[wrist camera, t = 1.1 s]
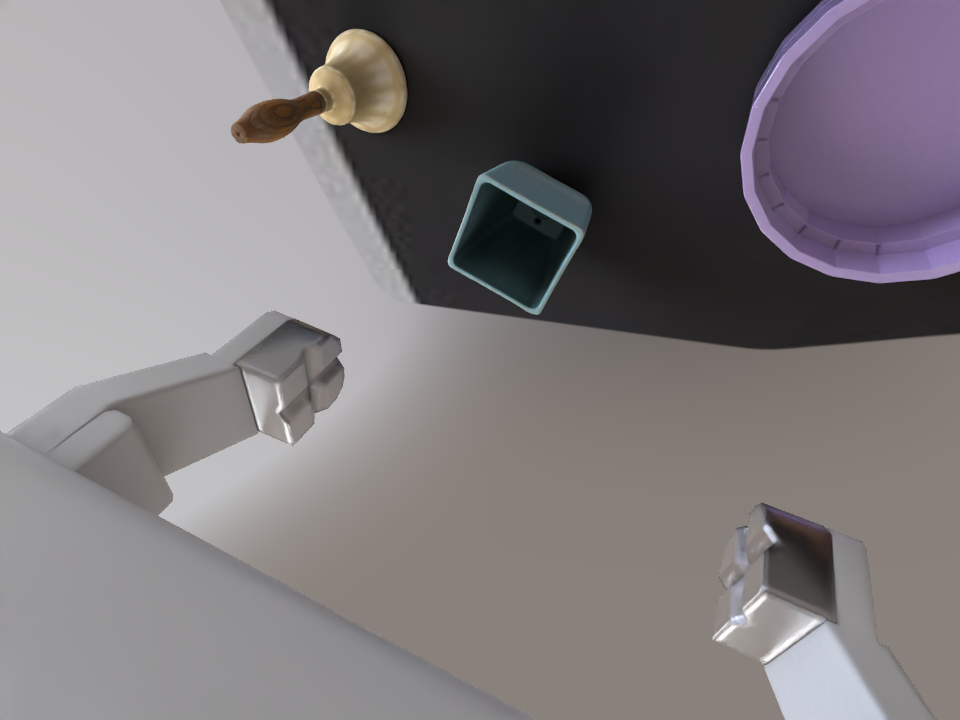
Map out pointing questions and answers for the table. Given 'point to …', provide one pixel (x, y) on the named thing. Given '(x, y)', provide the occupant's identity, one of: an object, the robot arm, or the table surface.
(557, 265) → the flower pot
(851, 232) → the bowl
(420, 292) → the table surface
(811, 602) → the robot arm
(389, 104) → the hand bell
